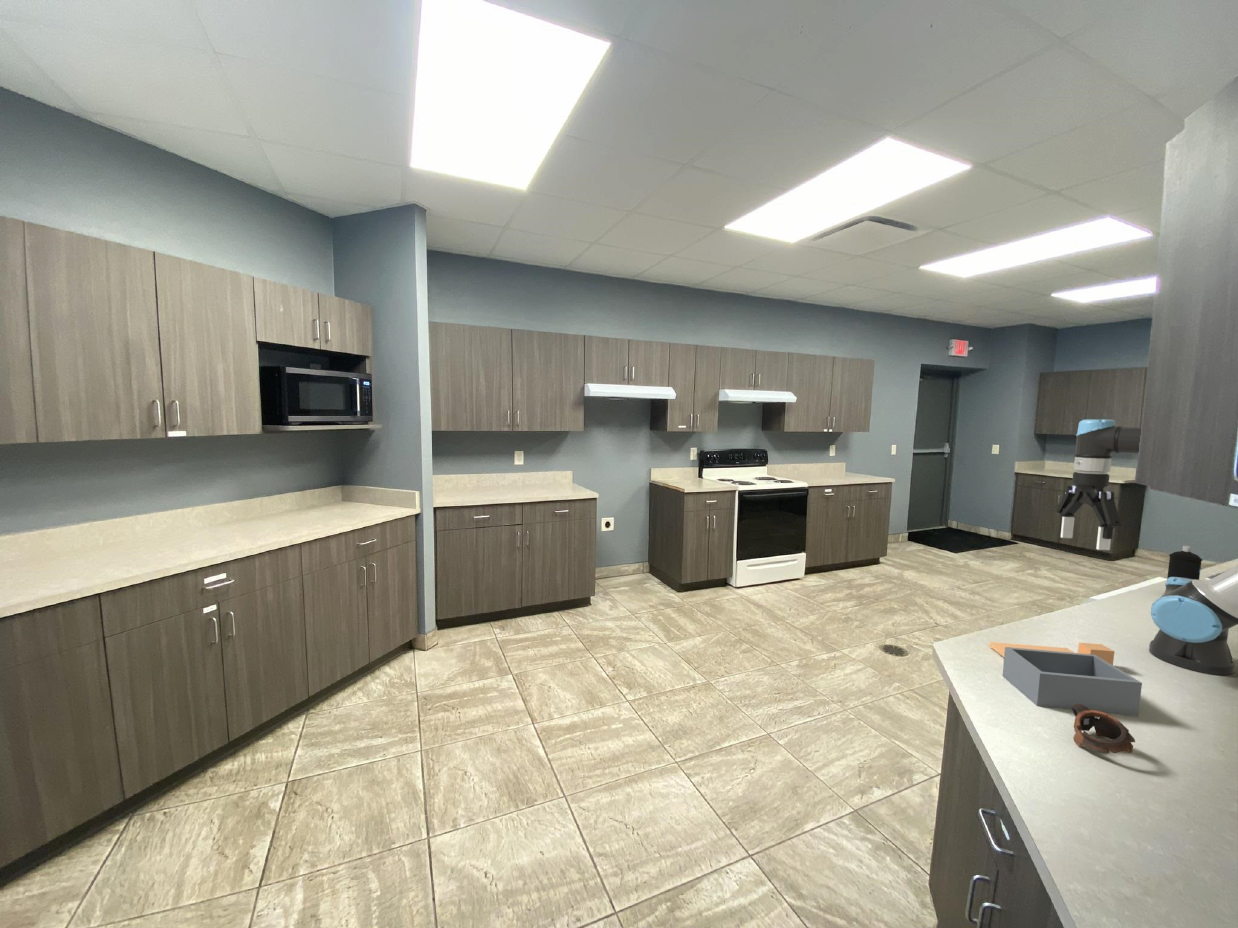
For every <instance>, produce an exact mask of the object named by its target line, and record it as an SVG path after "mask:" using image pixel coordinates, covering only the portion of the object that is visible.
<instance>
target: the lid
mask: <svg viewBox="0 0 1238 928" xmlns="http://www.w3.org/2000/svg"><path fill="white" fill-rule="evenodd" d="M988 647H990V648H992V650H994V651H995V652H996V653H997V654H999V655H1000V656H1001V657H1003V658H1004V653H1005V647H1012V648H1023V649H1035V650H1047V651H1058V652H1070V653H1075V652H1074V651H1073V650H1071V649H1069V648H1068V647H1060V646H1059V647H1057V646H1044V645H1032V644H1031V645H1030V644H1022V643H1021V644H1018V643H1006V642H995V641H989V644H988ZM1077 653H1082V654H1093V655H1096V656H1098V657H1100V658H1101V659H1103V660H1105V661H1106V662H1108V663H1110V664H1111V665H1113V666H1114V659H1115V650H1113V649H1112V648H1110V647H1107V646H1106V645H1104V644H1101V643H1090V642H1088V643H1087V642H1078V648H1077Z"/></svg>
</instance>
